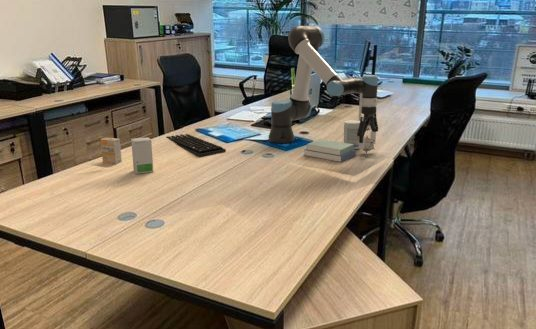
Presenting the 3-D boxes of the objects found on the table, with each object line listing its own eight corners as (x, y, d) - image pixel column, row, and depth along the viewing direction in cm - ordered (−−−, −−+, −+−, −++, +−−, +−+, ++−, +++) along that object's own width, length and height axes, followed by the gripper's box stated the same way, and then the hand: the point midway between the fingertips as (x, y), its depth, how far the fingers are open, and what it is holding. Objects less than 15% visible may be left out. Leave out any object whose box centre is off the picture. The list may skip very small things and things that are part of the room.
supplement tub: (364, 148, 247) (365, 122, 243) (351, 150, 242) (353, 124, 238) (352, 144, 255) (353, 119, 250) (339, 147, 250) (340, 121, 245)
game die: (376, 152, 238) (377, 134, 235) (373, 156, 230) (374, 137, 227) (359, 150, 241) (360, 132, 238) (355, 154, 234) (356, 136, 231)
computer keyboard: (163, 142, 265) (162, 136, 264) (187, 138, 274) (187, 132, 273) (199, 159, 230) (199, 152, 229) (225, 154, 239) (225, 147, 238)
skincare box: (136, 174, 205) (132, 141, 201) (133, 170, 211) (130, 138, 206) (154, 171, 209) (151, 139, 204) (151, 168, 215) (148, 136, 210)
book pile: (303, 155, 234) (304, 144, 232) (319, 149, 246) (319, 138, 244) (341, 162, 221) (341, 150, 219) (355, 155, 233) (356, 144, 231)
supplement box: (102, 164, 220) (99, 139, 217) (109, 162, 225) (106, 137, 221) (116, 166, 218) (113, 140, 214) (122, 163, 222) (119, 138, 218)
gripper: (365, 109, 217) (363, 152, 223) (385, 103, 236) (383, 142, 242) (351, 108, 221) (349, 150, 227) (372, 102, 240) (370, 140, 246)
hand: (367, 146), depth 234 cm, fingers open, 13 cm apart
